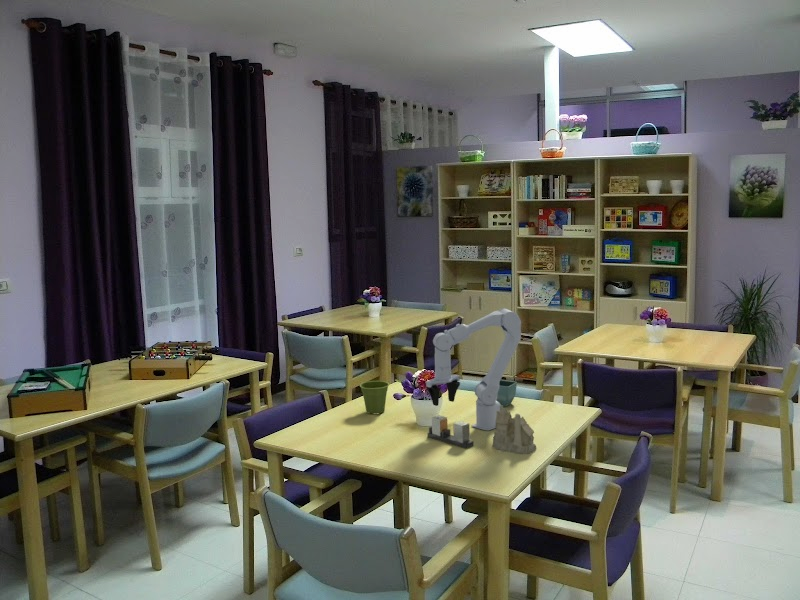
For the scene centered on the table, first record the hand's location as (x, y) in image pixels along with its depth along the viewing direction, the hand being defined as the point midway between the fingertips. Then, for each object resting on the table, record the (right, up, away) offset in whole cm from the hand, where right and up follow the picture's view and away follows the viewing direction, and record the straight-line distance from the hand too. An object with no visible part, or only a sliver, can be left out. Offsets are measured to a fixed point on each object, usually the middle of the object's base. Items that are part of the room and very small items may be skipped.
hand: (443, 403), depth 259 cm
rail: (+2, -12, -12) cm, 16 cm away
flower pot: (+26, -5, +32) cm, 42 cm away
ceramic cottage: (+23, -12, -17) cm, 32 cm away
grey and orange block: (-2, -10, -8) cm, 13 cm away
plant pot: (-26, -8, +26) cm, 37 cm away
